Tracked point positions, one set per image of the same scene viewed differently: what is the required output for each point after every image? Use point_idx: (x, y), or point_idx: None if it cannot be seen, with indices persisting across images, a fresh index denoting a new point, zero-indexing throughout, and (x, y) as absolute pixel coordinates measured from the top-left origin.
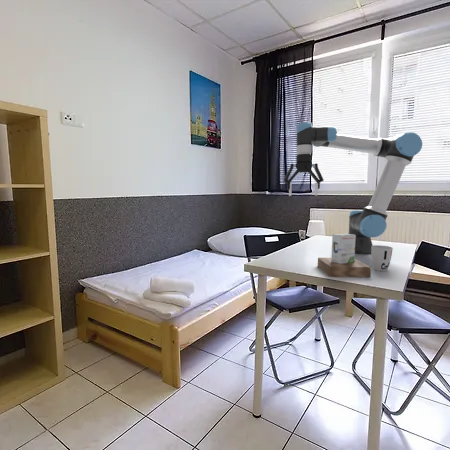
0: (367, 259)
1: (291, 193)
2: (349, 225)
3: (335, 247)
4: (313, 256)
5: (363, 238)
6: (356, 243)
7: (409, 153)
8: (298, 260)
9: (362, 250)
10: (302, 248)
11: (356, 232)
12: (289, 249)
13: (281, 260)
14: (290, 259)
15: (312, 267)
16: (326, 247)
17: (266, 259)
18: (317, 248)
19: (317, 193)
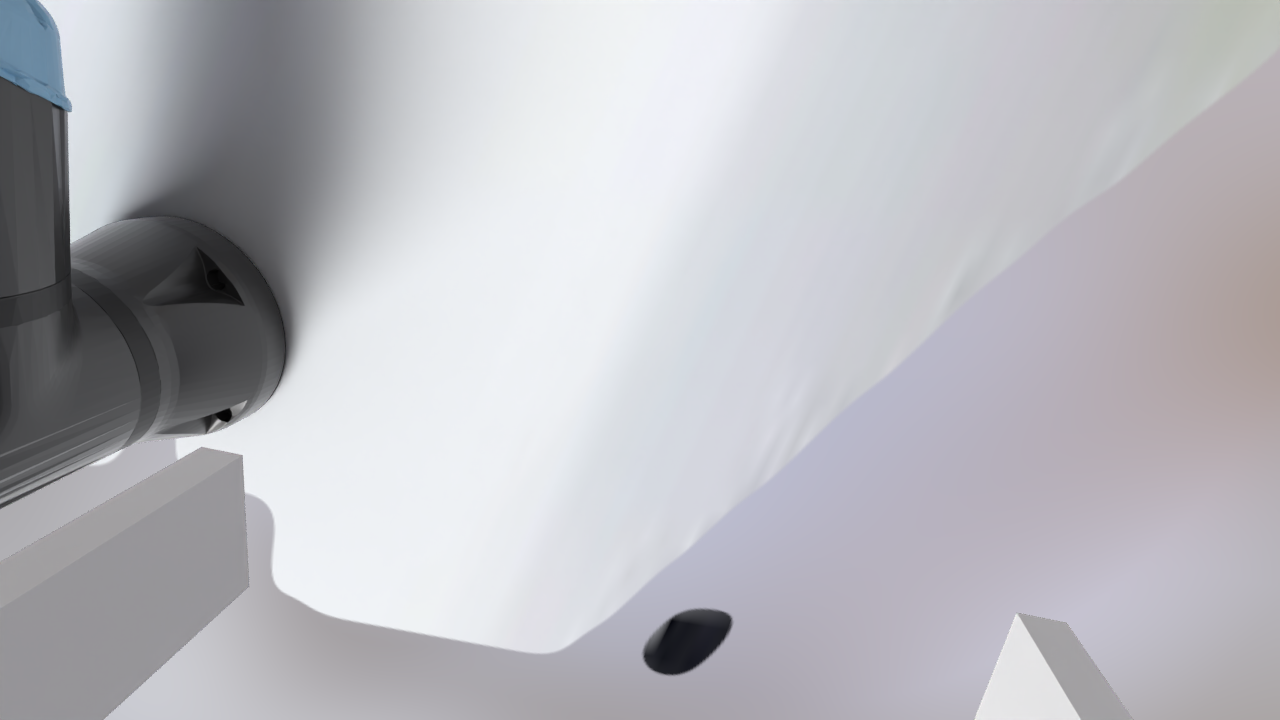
0: (237, 12)
1: (1049, 669)
2: (63, 433)
3: None
4: (636, 170)
5: (72, 264)
6: (170, 274)
7: None
8: (847, 19)
9: (175, 225)
10: (593, 488)
11: (78, 311)
12: (724, 467)
13: (1012, 32)
14: (903, 67)
15: None
16: (381, 493)
17: (1143, 87)
18: (468, 469)
19: (160, 476)
